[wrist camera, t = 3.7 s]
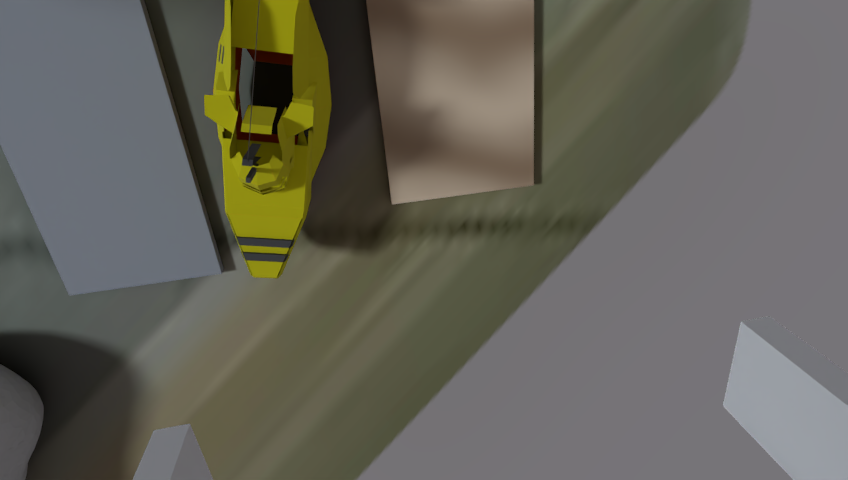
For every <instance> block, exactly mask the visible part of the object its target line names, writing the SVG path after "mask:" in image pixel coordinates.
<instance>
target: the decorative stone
mask: <svg viewBox="0 0 848 480" xmlns="http://www.w3.org/2000/svg"><path fill="white" fill-rule="evenodd" d="M43 413H44V407H43V403H42V401H41V398H40V396H39V395H38V393H37V391H36V390H35V389H34V388H33V386H32V385H31V384H30V383H29V382H27V381H26V380H24V379H23V378H22V377H20V376H19V375H18V374H16V373H15V372H13V371H11V370H10V369H8V368H6V367H5V366H3V365H1V364H0V480H25V479H26V476H27V468H28V461H29V459H30V457H31V455H32V453H33V451H34V449H35V446H36V443H37V441H38V438H39V436H40V432H41V427H42V423H43Z"/></svg>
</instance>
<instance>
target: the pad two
mask: <svg viewBox="0 0 848 480" xmlns="http://www.w3.org/2000/svg"><path fill="white" fill-rule="evenodd" d="M366 6H367V14H368V22H369V30H370V38H371V45H372V53H373V61H374V69H375V77H376V85H377V93H378V101H379V108H380V116H381V124H382V132H383V140H384V148H385V156H386V164H387V172H388V179H389V187H390V195H391V202H392V204H400V203H407V202H414V201H422V200H429V199H436V198H444V197H451V196H458V195H466V194H473V193H480V192H488V191H495V190H503V189H510V188H517V187H525V186H532V185H534V0H366Z"/></svg>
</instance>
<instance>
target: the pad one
mask: <svg viewBox="0 0 848 480" xmlns="http://www.w3.org/2000/svg"><path fill="white" fill-rule="evenodd" d="M0 145H1V147H2V149H3V151H4V154H5V156H6V158H7V160H8V162H9V164H10V167H11V169H12V171H13V173H14V175H15V178H16V180H17V182H18V184H19V186H20V189H21V191H22V193H23V195H24V197H25V200H26V202H27V204H28V206H29V208H30V211H31V213H32V215H33V217H34V219H35V221H36V224H37V226H38V228H39V230H40V232H41V235H42V237H43V239H44V241H45V243H46V246H47V248H48V250H49V252H50V254H51V257H52V259H53V261H54V263H55V265H56V268H57V270H58V272H59V274H60V276H61V279H62V281H63V283H64V285H65V287H66V289H67V292H68V294H69V295H76V294H83V293H90V292H97V291H104V290H111V289H118V288H125V287H132V286H139V285H146V284H153V283H160V282H167V281H174V280H181V279H188V278H194V277H201V276H208V275H215V274H222V272H223V270H224V268H223V265H222V261H221V258H220V255H219V251H218V248H217V244H216V241H215V238H214V234H213V231H212V228H211V224H210V221H209V217H208V214H207V211H206V207H205V204H204V201H203V197H202V194H201V190H200V187H199V184H198V180H197V177H196V174H195V170H194V167H193V163H192V160H191V157H190V153H189V150H188V147H187V143H186V140H185V136H184V133H183V130H182V126H181V123H180V119H179V116H178V113H177V109H176V106H175V103H174V99H173V96H172V92H171V89H170V86H169V82H168V79H167V76H166V72H165V69H164V65H163V62H162V59H161V55H160V52H159V49H158V45H157V42H156V38H155V35H154V32H153V28H152V25H151V21H150V18H149V15H148V11H147V8H146V5H145V1H144V0H0Z"/></svg>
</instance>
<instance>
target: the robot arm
mask: <svg viewBox="0 0 848 480" xmlns="http://www.w3.org/2000/svg"><path fill="white" fill-rule="evenodd" d="M723 407H724V408H725V409H726V410H727V411H728V412H729V413H730V414H731V415H732V416H733V417H734V418H735V419H736V420H737V421H738V422H739V423H740V424H741V425H742V426H743V428H744V429H745V430H746V431H747V432H748V433H749V434H750V435H751V436H752V437H753V438H754V439H755V440H756V441H757V442H758V443H759V444H760V445H761V446H762V447H763V448H764V450H765V451H766V452H767V453H768V454H769V455H770V456H771V457H772V458H773V459H774V460H775V461H776V462H777V463H778V464H779V465H780V466H781V467H782V468H783V469H784V470H785V472H786V473H787V474H788V475H789V476H790V477H791V478H792V479H793V480H848V373H847V372H846V371H845V370H843V369H842V368H840V367H839V366H838V365H836V364H835V363H834V362H832V361H831V360H829V359H828V358H827V357H825V356H824V355H822V354H821V353H819V352H818V351H817V350H816V349H814V348H813V347H811V346H810V345H809V344H807V343H806V342H804V341H803V340H802V339H800V338H799V337H798V336H796V335H795V334H794V333H792V332H790V331H789V330H788V329H787V328H785V327H784V326H783V325H781V324H780V323H778V322H777V321H776V320H774V319H773V318H772V317H770V316H768V317H763V318H757V319H753V320H747V321H741V324H740V329H739V333H738V338H737V343H736V347H735V352H734V356H733V361H732V366H731V370H730V375H729V380H728V384H727V389H726V394H725V398H724V403H723ZM133 480H213V478H212V476H211V473H210V471H209V469H208V466H207V464H206V461H205V459H204V457H203V454H202V452H201V449H200V447H199V444H198V442H197V440H196V437H195V435H194V432H193V430H192V428H191V425H190V424H186V425H180V426H175V427H169V428H164V429H159V430H154V431H153V434H152V436H151V438H150V441H149V443H148V445H147V447H146V450H145V452H144V454H143V457H142V459H141V461H140V464H139V466H138V468H137V471H136V473H135V475H134V478H133Z"/></svg>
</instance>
